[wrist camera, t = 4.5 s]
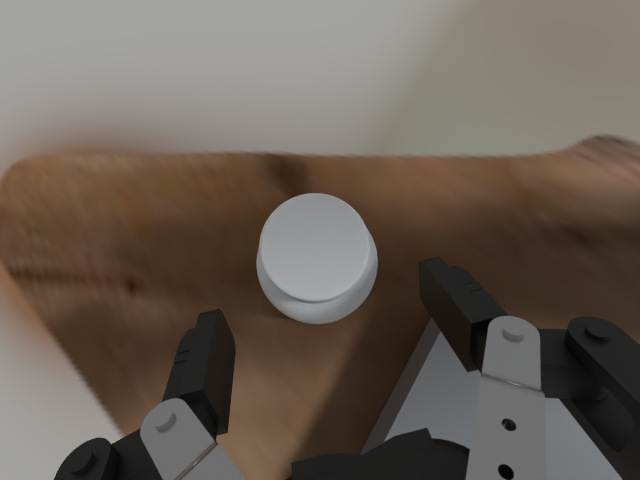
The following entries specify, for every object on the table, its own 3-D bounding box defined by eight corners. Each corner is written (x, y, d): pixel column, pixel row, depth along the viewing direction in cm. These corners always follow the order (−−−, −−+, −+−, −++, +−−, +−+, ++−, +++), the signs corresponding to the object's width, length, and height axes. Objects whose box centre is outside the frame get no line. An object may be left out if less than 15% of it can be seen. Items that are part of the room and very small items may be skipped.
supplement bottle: (261, 294, 21) (207, 268, 11) (307, 225, 22) (292, 150, 12) (334, 341, 20) (338, 355, 11) (378, 268, 21) (418, 220, 12)
